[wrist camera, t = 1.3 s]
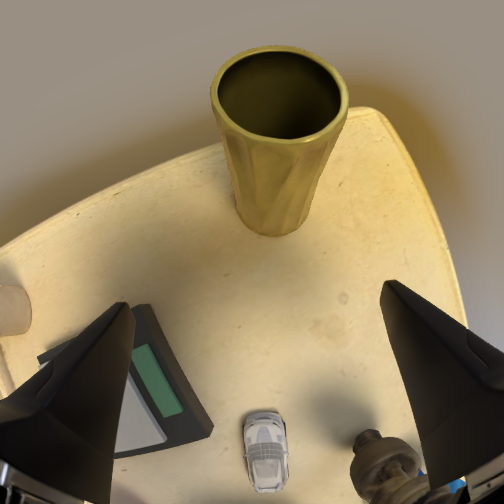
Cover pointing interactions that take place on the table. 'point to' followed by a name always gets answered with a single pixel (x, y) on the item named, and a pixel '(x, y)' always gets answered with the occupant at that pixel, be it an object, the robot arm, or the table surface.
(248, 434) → the toy car
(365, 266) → the table surface
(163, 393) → the scale
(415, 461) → the light bulb
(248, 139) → the vase
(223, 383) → the table surface
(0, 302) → the candle
